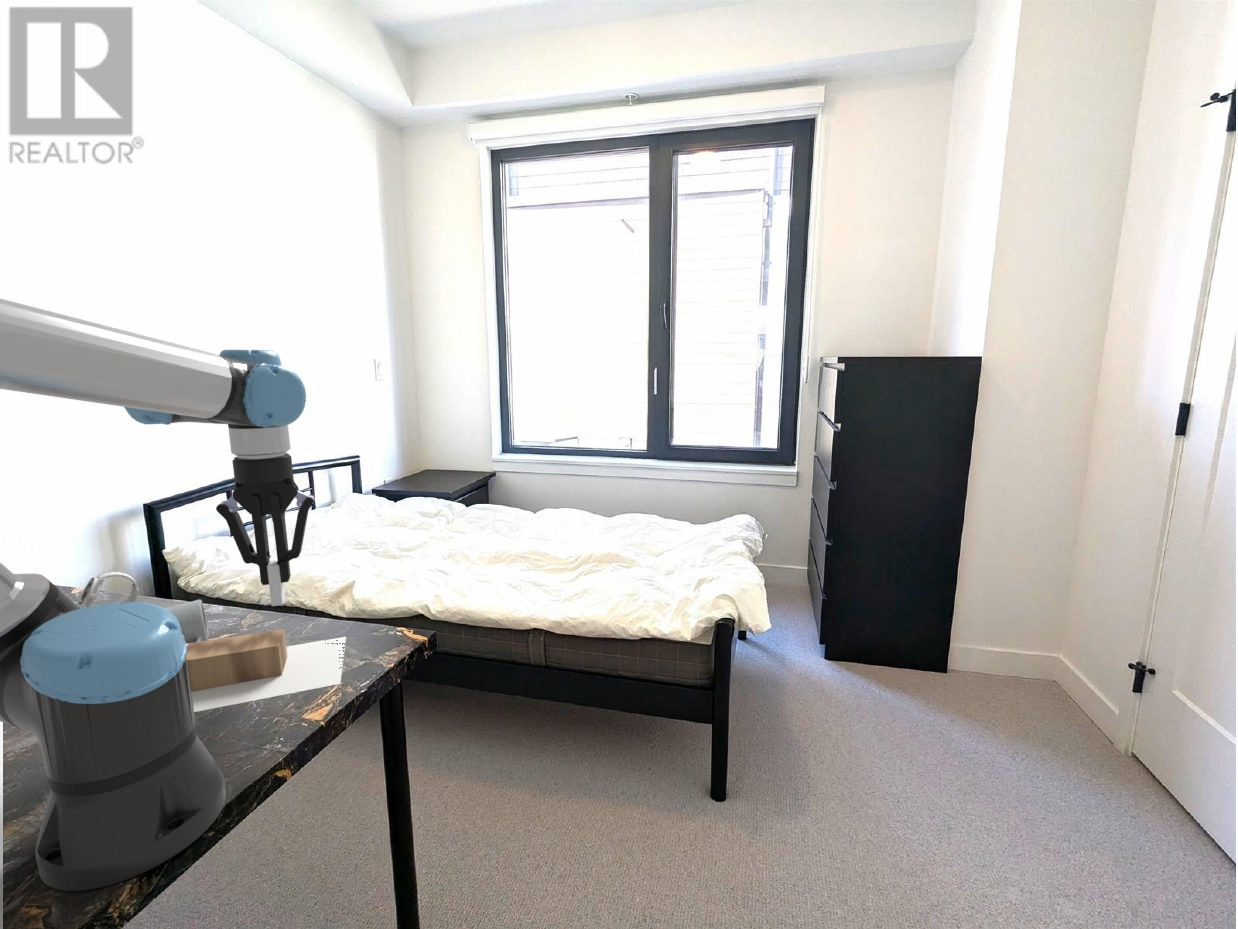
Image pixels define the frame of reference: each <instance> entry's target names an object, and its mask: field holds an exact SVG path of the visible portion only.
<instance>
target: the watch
mask: <svg viewBox="0 0 1238 929" xmlns="http://www.w3.org/2000/svg"><path fill="white" fill-rule="evenodd" d="M114 577H116V578H117V577H119V578H124V579H127V580H128V581H130V582H132V584H131V591H130V594H129V595H128V597H127V600H126V601H125V602H124V604H127V603H129V602H136V600H137V598H138V595H139V590H140V588H139V587H138V583H137V582H136V580H135V579H134V578H133V576H131V575H130V574H128V573H125V572H123V571H122V572H121V571H107V572H104V573H100V574H98V575H97V576H96V577H94V576H93V577H92V578H90V579H89V581H87V583H86V585H85V587H84V588H83V590H82V592H81V595H80V597H79V601H78V605H79V606H82V607H83V608H85V607H90V606H92V605H93V603H94V602H95V600H96V599H97V597H98V596H99V594H100V592H101V589H102V586H103V583H104V581H106V580H105V579H108V578H114Z"/></svg>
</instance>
